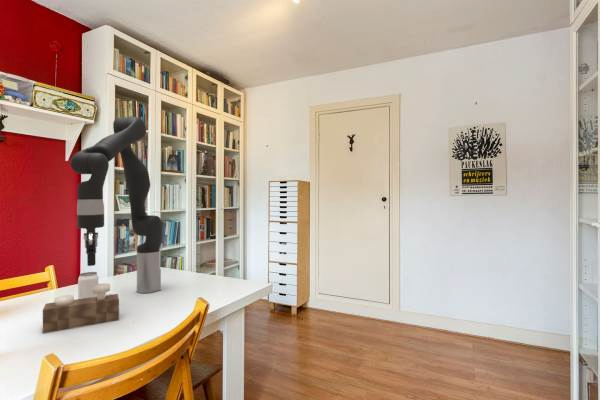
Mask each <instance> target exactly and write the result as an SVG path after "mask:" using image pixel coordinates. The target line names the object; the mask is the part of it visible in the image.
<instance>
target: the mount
mask: <svg viewBox="0 0 600 400" xmlns="http://www.w3.org/2000/svg"><path fill="white" fill-rule="evenodd" d="M119 320H120V299H119V293H114V294H106V299H104V300H97V297H90V298H83V299H78V298H77V299H74V303H73V304H70V305H67V306H54V302H46V303H45V304H44V307H43V308H42V334H45V333H52V332H58V331H62V330H68V329H74V328H81V327H85V326H92V325H96V324H103V323H108V322H114V321H115V322H116V321H119Z"/></svg>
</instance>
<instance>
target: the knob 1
mask: <svg viewBox="0 0 600 400" xmlns="http://www.w3.org/2000/svg"><path fill="white" fill-rule="evenodd" d="M74 300H75V296H74V295H73V294H67V295H66V294H65V295H61V296H57V297H55V298H54V300H53V301H54V302H53V303H54V306H67V305H70V304H73V303H74Z"/></svg>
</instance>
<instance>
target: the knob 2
mask: <svg viewBox="0 0 600 400" xmlns="http://www.w3.org/2000/svg"><path fill="white" fill-rule="evenodd" d="M110 291H111V283H108V282H107V283H106V282H105V283H104V282H103V283H98V284H96V285H93V286H92V293H97V300H104V299H106V295H107V294H106V293H107V292H110Z"/></svg>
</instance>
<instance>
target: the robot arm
mask: <svg viewBox="0 0 600 400" xmlns="http://www.w3.org/2000/svg"><path fill="white" fill-rule="evenodd" d="M112 123H113V124H112V126H113V128H112V129H113V132H114V133H113V134H110V135H107V136H104V137H103V138H101V139H99V141H98V142H96V143H95V144H94V145H92V146H90V147H89V146H88V147H86V148H84V149H82V150H80V151H77V152H76V153H74V155H72V157H71V159H70V167H71V169H72V170H73V172H75V173H76V174H79V175H90V177H89V179H88V180H84V181H80V182H79V183H78V184H77V203H76V227H77V229H84V230H85V229H86V232H84V233H83V240H84V248H85V250H86V251H85V253H86V256H87V258H86V259H87V260H86V261H87V266H88V267H92V266H96V260H97V259H96V253H97V247H98V239H99V232H96V229H97V228H100V229H101V228H103V227H105V204H104V185H105V181H106V178H107V174H108V170H109V163H110V161H112V160H113V159H114V158H115V157H117V155H118V154H119V155H120V158H121V163H122V167H123V173H124V178H125V179H124V180H125V184H126V185H125V186H126V188H127V193H128V200H129V206H130V216H131V217H130V218H131V227H132V230H133V233H134V234H135V235H137V236H139V237H140V236H141V237H145V239H144V240H145V241H144V242H143V243H141V244H138V245H137V246H136V292H137V293H139V294H150V293H154V292H157V291H161V290H162V287H161V286H162V285H161V284H162V281H161V280H162V276H161V275H162V269H161V267H160V266H161V246H162V242H163V239H162V237H163V222H162V219H161V217H159V216H158V215H150V214H149V215H147V212H146V205H145V204H146V199H147V197H148V194H149V192H150V189H151V179H150V175H149V174H150V173H149V171H148V168H147V166H146V165H145V163H144V162H143V161H142V160H141V159H140V158H139V157H138V156H137V155H136V153H135V151H134V149H133V147H132V144H134V143H137V142H138V141H140V140H141V139H144V137H145V136H146V134H147V126H146V124H145V121H144V120H143V119H142V118H141V117H138V116H126V117H115V119H114V120H113V122H112Z"/></svg>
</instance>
